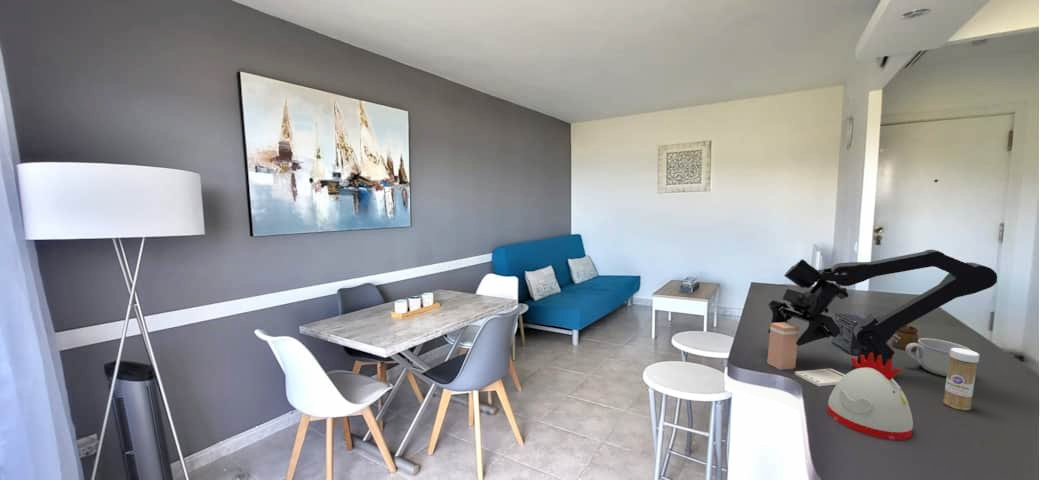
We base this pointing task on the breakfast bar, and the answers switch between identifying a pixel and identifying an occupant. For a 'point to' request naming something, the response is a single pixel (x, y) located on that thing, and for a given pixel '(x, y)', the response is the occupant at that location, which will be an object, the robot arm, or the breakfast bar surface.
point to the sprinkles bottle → (960, 378)
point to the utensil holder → (905, 337)
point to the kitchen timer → (872, 401)
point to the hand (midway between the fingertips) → (782, 338)
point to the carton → (783, 345)
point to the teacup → (933, 354)
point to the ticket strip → (821, 376)
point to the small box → (847, 333)
